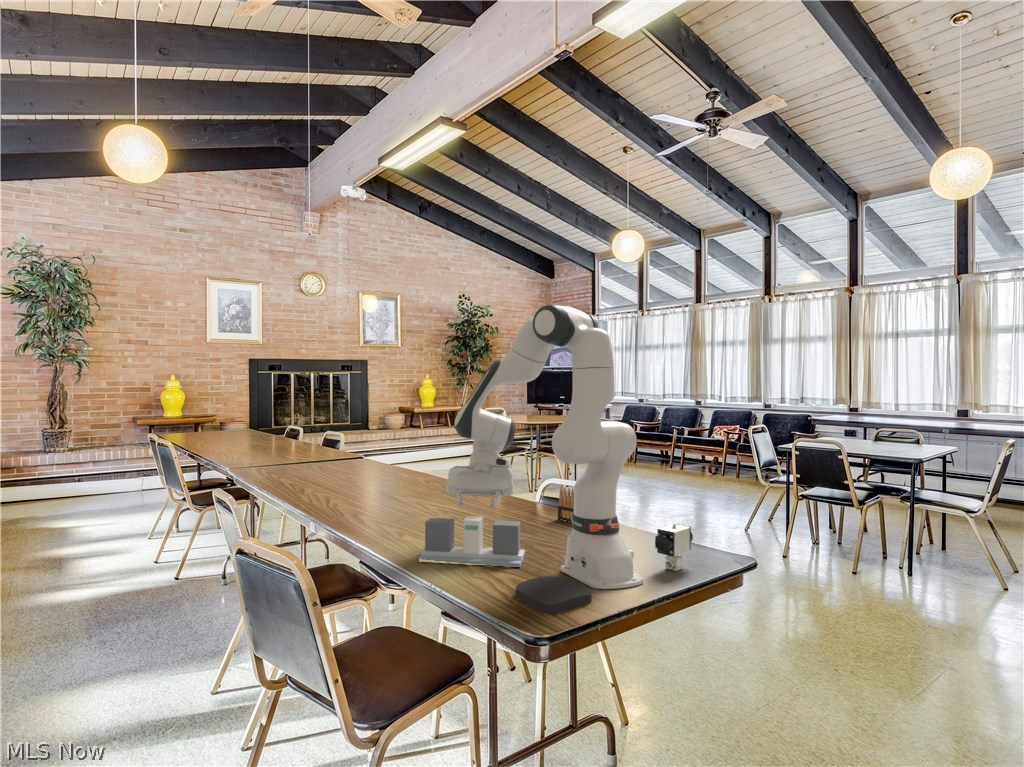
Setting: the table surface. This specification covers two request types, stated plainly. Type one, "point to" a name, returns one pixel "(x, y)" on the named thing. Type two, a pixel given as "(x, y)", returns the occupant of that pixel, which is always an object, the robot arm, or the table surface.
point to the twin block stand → (501, 554)
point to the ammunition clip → (566, 504)
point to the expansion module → (473, 534)
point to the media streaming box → (553, 594)
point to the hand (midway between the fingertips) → (477, 505)
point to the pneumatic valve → (673, 544)
